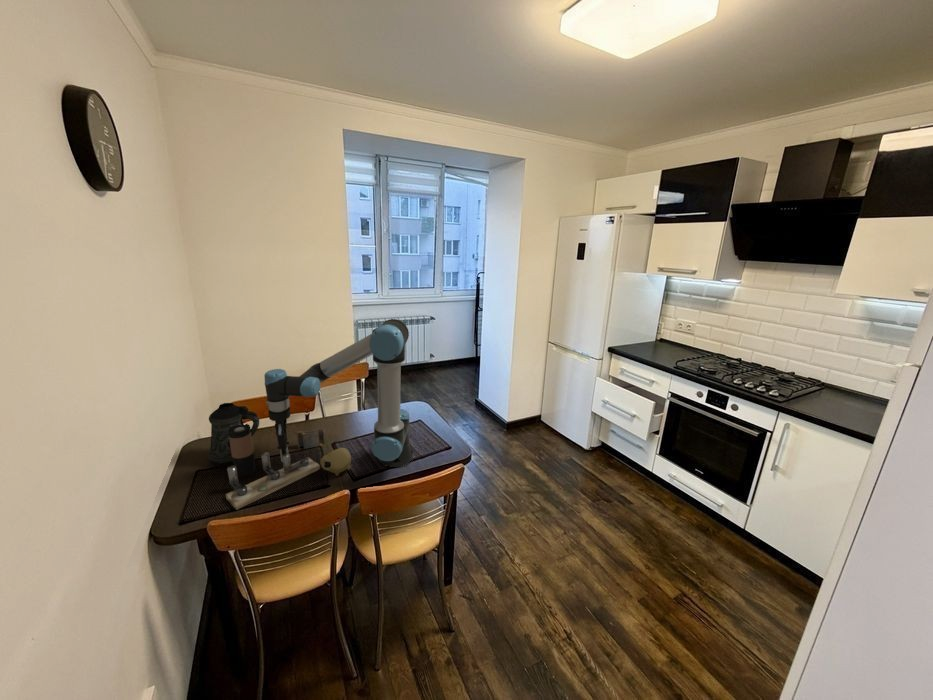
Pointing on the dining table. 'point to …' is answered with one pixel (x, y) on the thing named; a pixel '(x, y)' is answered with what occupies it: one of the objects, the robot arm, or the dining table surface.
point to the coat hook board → (270, 484)
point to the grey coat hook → (288, 466)
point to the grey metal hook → (269, 466)
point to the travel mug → (242, 449)
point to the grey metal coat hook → (236, 481)
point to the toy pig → (336, 461)
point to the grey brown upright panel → (311, 438)
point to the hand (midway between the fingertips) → (285, 460)
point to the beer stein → (220, 424)
